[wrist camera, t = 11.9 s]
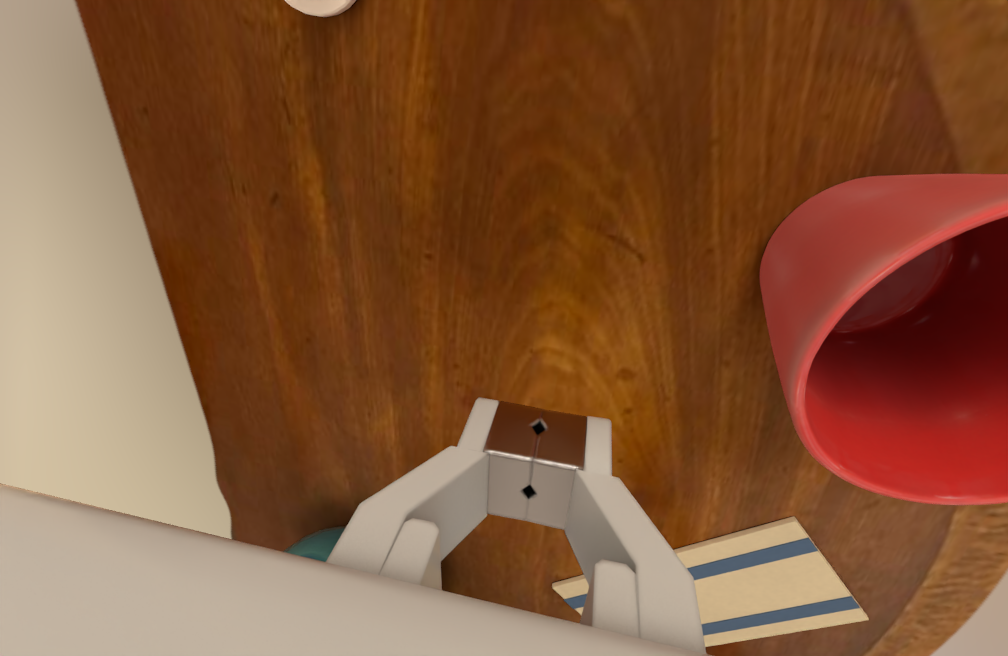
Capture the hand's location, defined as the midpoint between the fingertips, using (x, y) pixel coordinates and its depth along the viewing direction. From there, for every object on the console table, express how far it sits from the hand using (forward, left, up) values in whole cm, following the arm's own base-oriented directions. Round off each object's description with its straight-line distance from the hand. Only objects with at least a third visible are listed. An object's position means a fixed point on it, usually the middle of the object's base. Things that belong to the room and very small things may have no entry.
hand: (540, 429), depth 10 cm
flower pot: (-9, +9, -15) cm, 20 cm away
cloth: (+10, +30, -15) cm, 35 cm away
